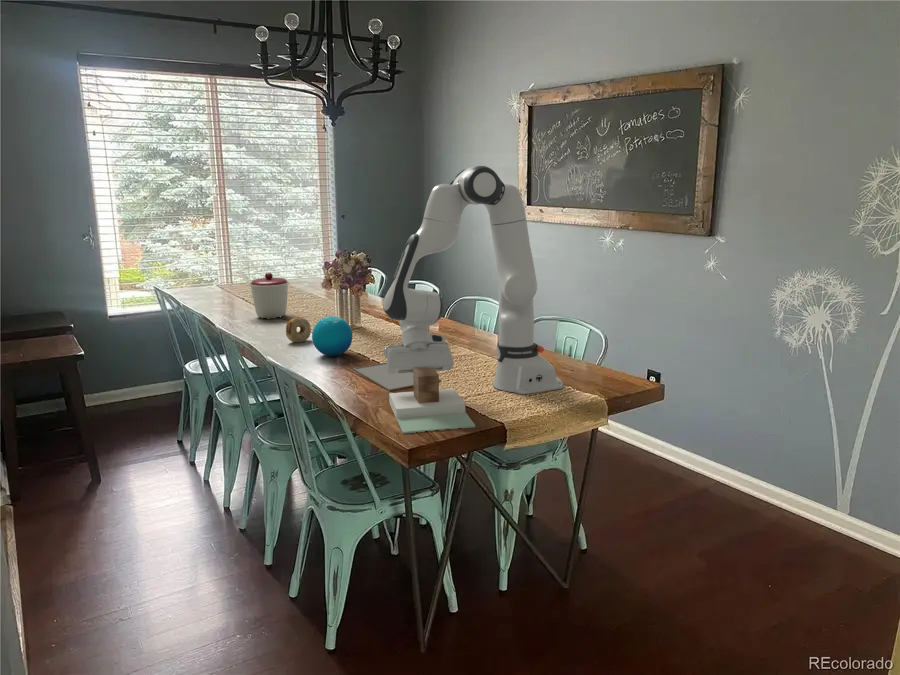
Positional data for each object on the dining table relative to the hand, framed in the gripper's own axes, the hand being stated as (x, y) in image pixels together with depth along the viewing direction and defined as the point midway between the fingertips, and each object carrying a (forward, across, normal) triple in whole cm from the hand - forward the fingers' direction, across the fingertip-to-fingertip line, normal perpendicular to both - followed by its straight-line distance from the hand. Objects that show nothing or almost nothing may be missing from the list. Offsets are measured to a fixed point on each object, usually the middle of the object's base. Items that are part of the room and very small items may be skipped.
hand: (423, 383), depth 202 cm
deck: (+8, 0, +1) cm, 8 cm away
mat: (+17, 0, -8) cm, 19 cm away
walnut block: (+5, 0, -1) cm, 6 cm away
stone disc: (-54, -35, +63) cm, 91 cm away
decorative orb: (-37, -23, +46) cm, 64 cm away
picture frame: (-16, -4, +26) cm, 30 cm away
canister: (-90, -48, +99) cm, 142 cm away
